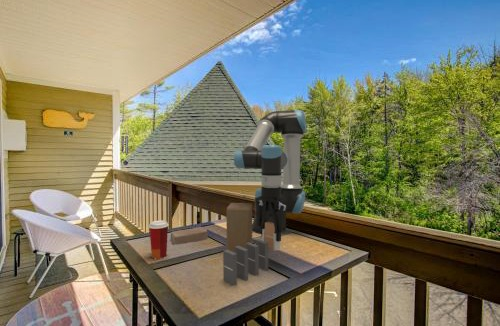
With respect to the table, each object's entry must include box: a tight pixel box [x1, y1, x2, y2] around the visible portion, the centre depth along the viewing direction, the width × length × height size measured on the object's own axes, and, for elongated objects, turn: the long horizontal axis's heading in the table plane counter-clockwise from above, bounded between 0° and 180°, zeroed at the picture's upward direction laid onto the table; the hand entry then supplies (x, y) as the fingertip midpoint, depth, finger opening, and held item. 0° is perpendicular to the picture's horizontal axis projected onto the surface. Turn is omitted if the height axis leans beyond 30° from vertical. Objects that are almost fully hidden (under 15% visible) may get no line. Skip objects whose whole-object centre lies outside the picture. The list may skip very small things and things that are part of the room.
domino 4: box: [255, 238, 269, 272], centre depth 96 cm, size 2×5×10 cm, turn 43°
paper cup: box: [148, 219, 170, 260], centre depth 106 cm, size 8×8×14 cm
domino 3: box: [246, 242, 260, 276], centre depth 92 cm, size 2×5×10 cm, turn 43°
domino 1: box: [222, 249, 238, 286], centre depth 85 cm, size 2×5×10 cm, turn 43°
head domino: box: [265, 222, 278, 252], centre depth 99 cm, size 2×5×10 cm, turn 43°
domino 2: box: [235, 246, 249, 281], centre depth 89 cm, size 2×5×10 cm, turn 44°
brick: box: [170, 226, 209, 245], centre depth 127 cm, size 17×8×5 cm, turn 119°
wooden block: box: [226, 202, 253, 253], centre depth 112 cm, size 10×10×20 cm
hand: (270, 247), depth 99 cm, fingers closed on head domino, 5 cm apart
